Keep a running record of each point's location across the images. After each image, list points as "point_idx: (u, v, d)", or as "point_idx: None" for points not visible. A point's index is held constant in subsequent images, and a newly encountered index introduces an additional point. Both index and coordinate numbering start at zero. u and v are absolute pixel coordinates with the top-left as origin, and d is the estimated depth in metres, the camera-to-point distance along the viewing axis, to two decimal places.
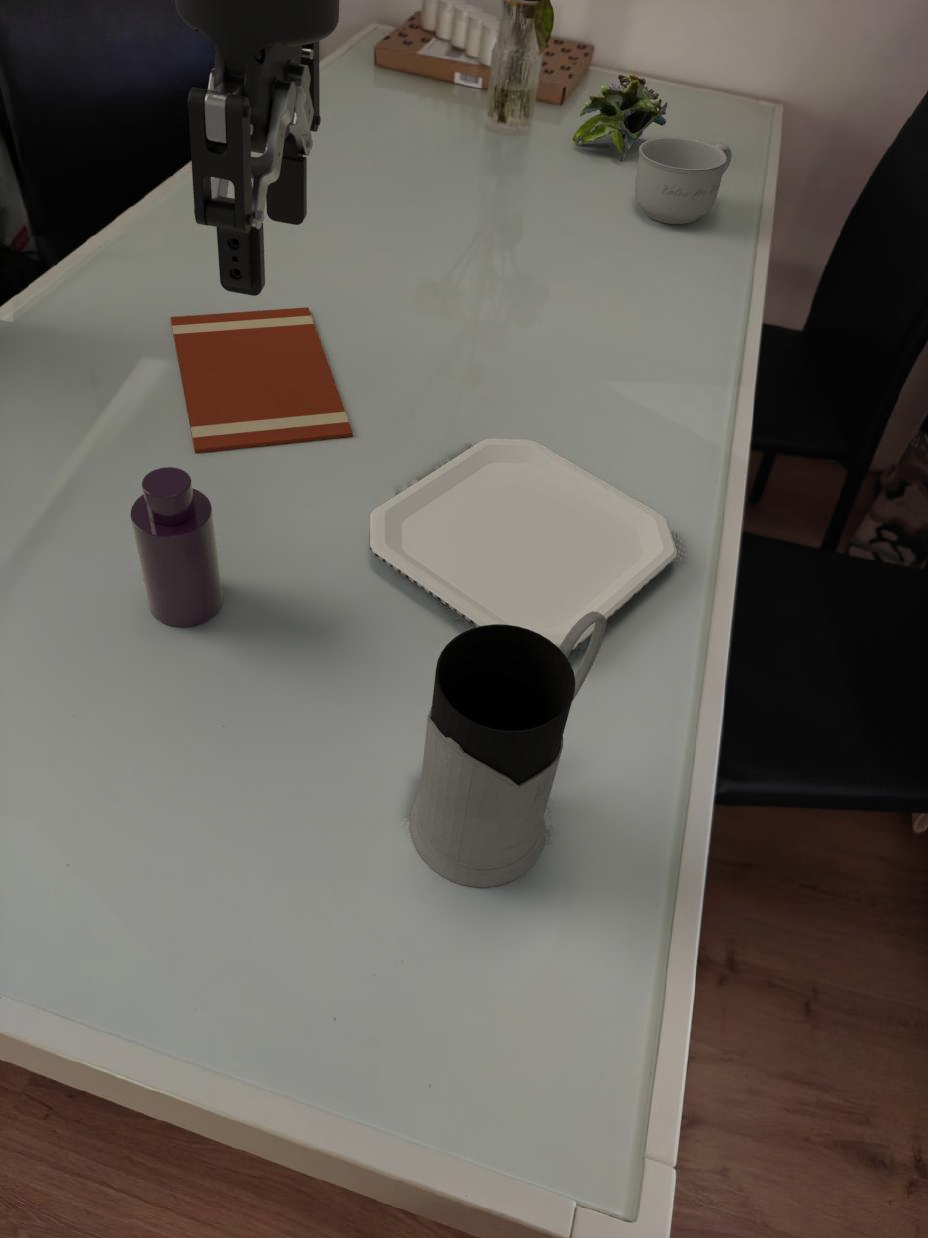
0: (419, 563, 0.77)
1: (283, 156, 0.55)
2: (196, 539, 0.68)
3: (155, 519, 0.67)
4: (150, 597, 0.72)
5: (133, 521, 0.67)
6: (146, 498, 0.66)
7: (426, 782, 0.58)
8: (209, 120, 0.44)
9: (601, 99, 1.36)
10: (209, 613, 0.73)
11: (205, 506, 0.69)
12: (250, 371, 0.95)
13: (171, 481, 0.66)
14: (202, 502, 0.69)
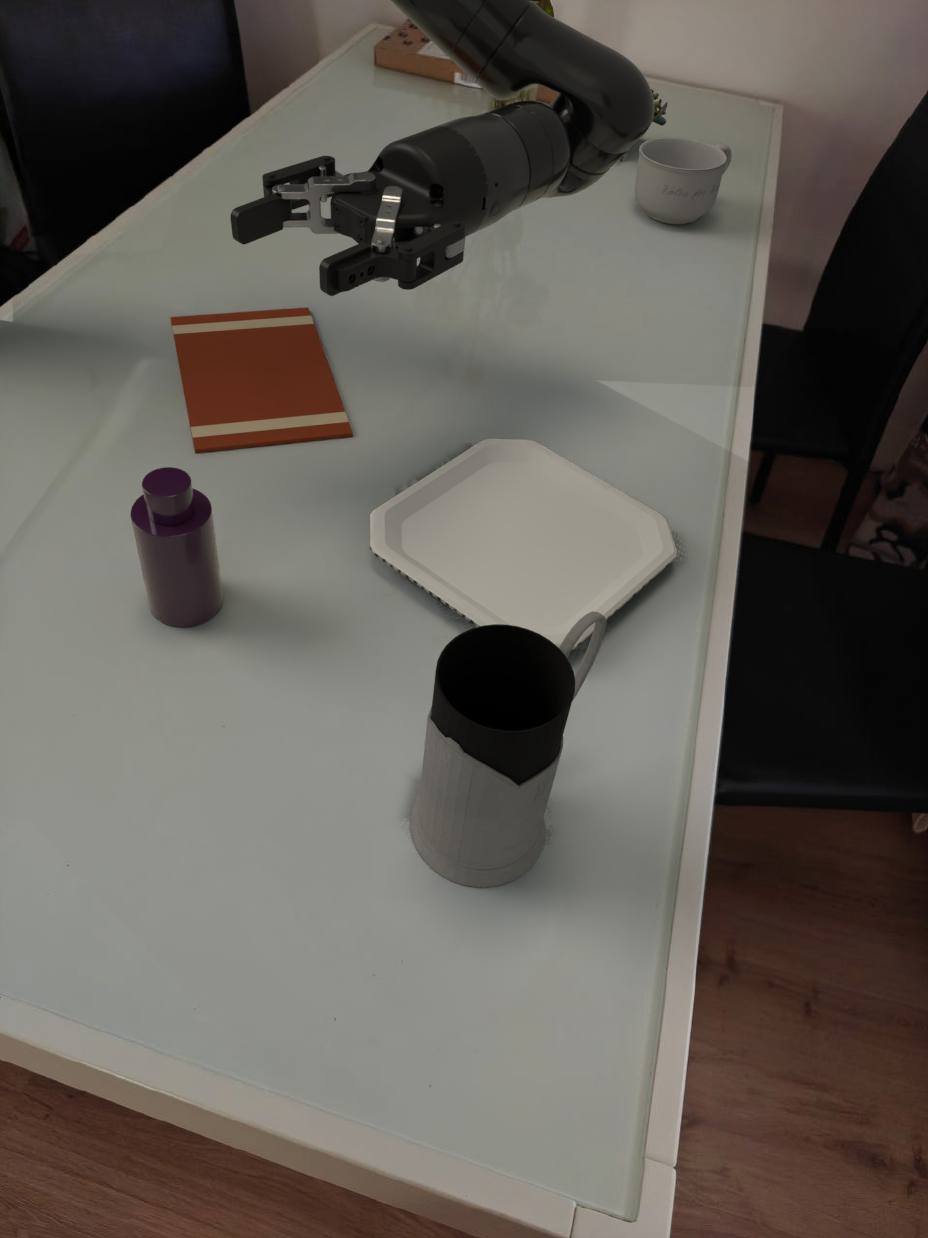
0: (419, 563, 0.77)
1: None
2: (196, 539, 0.68)
3: (155, 519, 0.67)
4: (150, 597, 0.72)
5: (133, 521, 0.67)
6: (146, 498, 0.66)
7: (426, 782, 0.58)
8: (458, 243, 0.65)
9: None
10: (209, 613, 0.73)
11: (205, 506, 0.69)
12: (250, 371, 0.95)
13: (171, 481, 0.66)
14: (202, 502, 0.69)
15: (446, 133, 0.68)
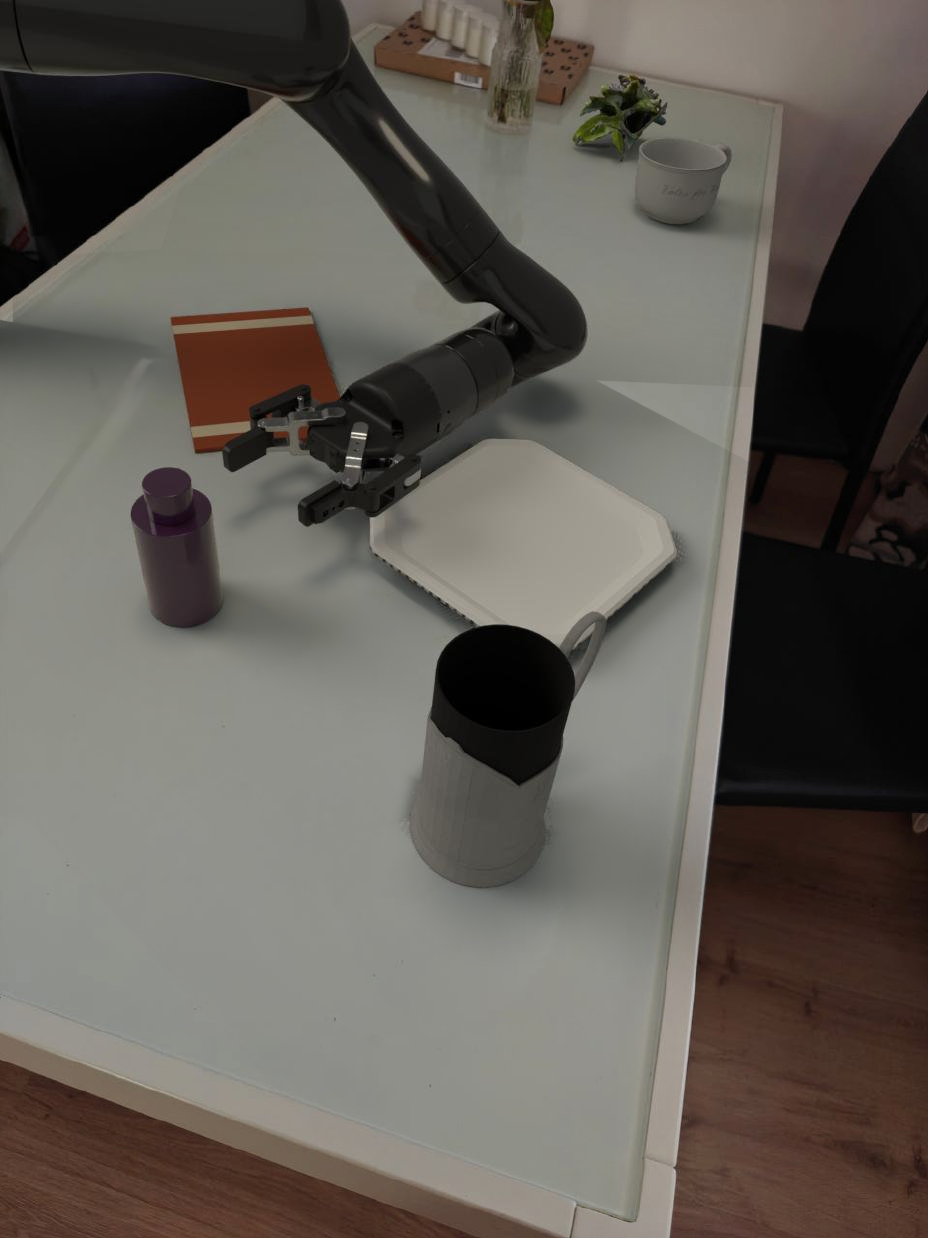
0: (419, 563, 0.77)
1: None
2: (196, 539, 0.68)
3: (155, 519, 0.67)
4: (150, 597, 0.72)
5: (133, 521, 0.67)
6: (146, 498, 0.66)
7: (426, 782, 0.58)
8: (415, 474, 0.77)
9: (601, 99, 1.36)
10: (209, 613, 0.73)
11: (205, 506, 0.69)
12: (250, 371, 0.95)
13: (171, 481, 0.66)
14: (202, 502, 0.69)
15: (405, 373, 0.80)
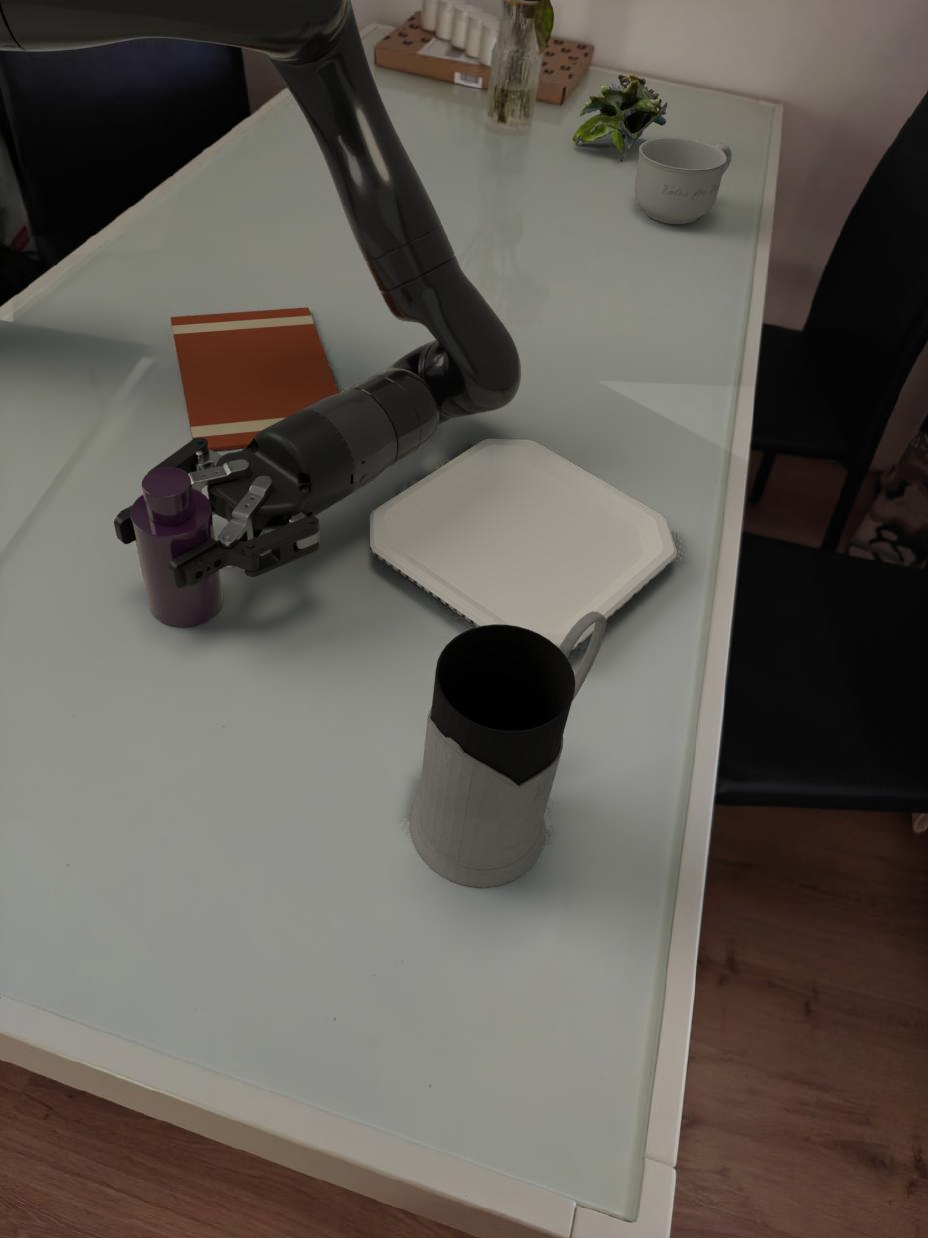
0: (419, 563, 0.77)
1: None
2: (196, 539, 0.68)
3: (155, 519, 0.67)
4: (150, 597, 0.72)
5: (133, 521, 0.67)
6: (146, 498, 0.66)
7: (426, 782, 0.58)
8: (310, 538, 0.71)
9: (601, 99, 1.36)
10: (209, 613, 0.73)
11: (205, 506, 0.69)
12: (250, 371, 0.95)
13: (171, 481, 0.66)
14: (202, 502, 0.69)
15: (314, 421, 0.74)
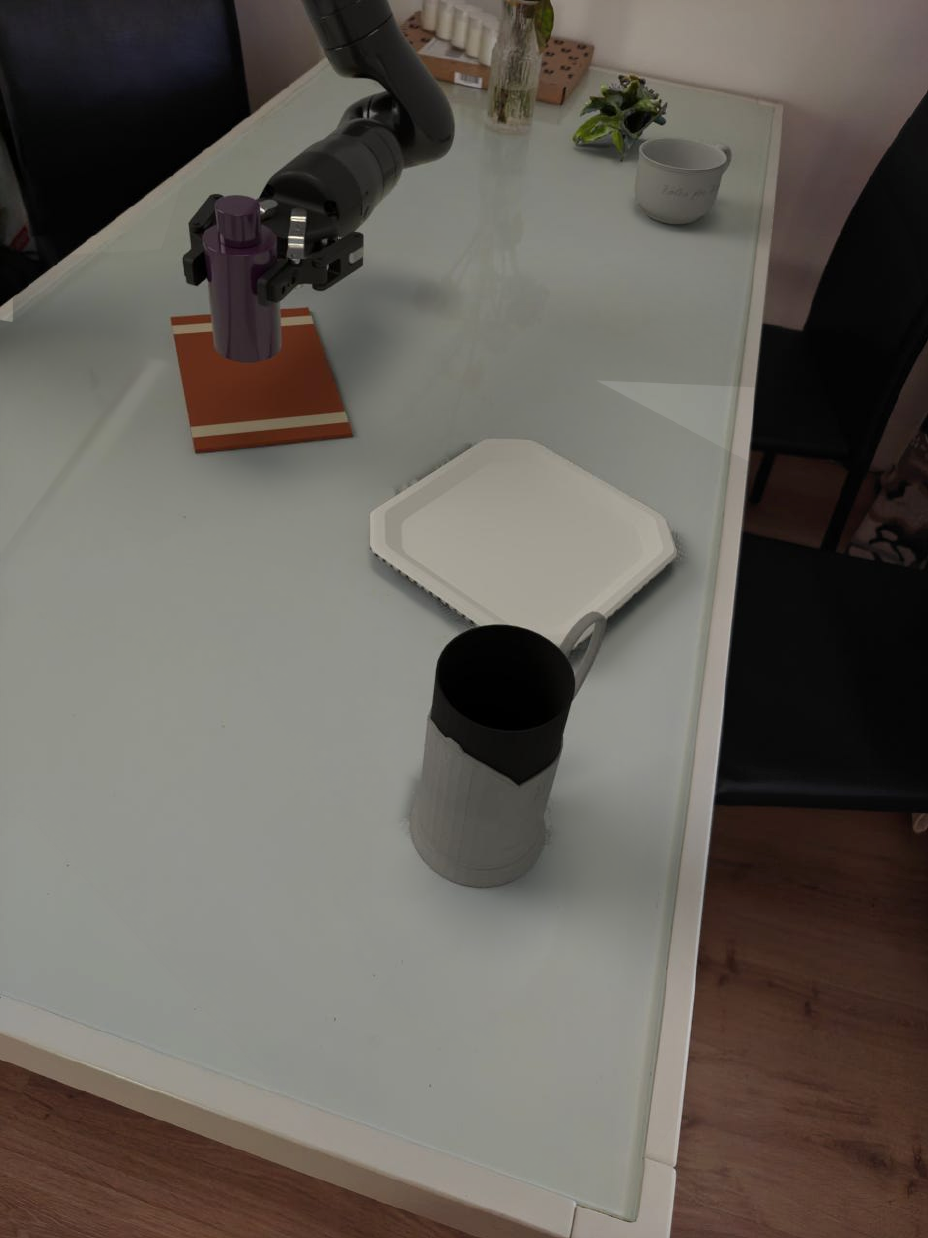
0: (419, 563, 0.77)
1: None
2: (272, 258, 0.74)
3: (233, 243, 0.72)
4: (226, 336, 0.77)
5: (213, 249, 0.72)
6: (224, 221, 0.71)
7: (426, 782, 0.58)
8: (358, 251, 0.78)
9: (601, 99, 1.36)
10: (278, 345, 0.79)
11: (267, 231, 0.75)
12: (250, 371, 0.95)
13: (241, 203, 0.72)
14: (263, 228, 0.75)
15: (320, 157, 0.81)
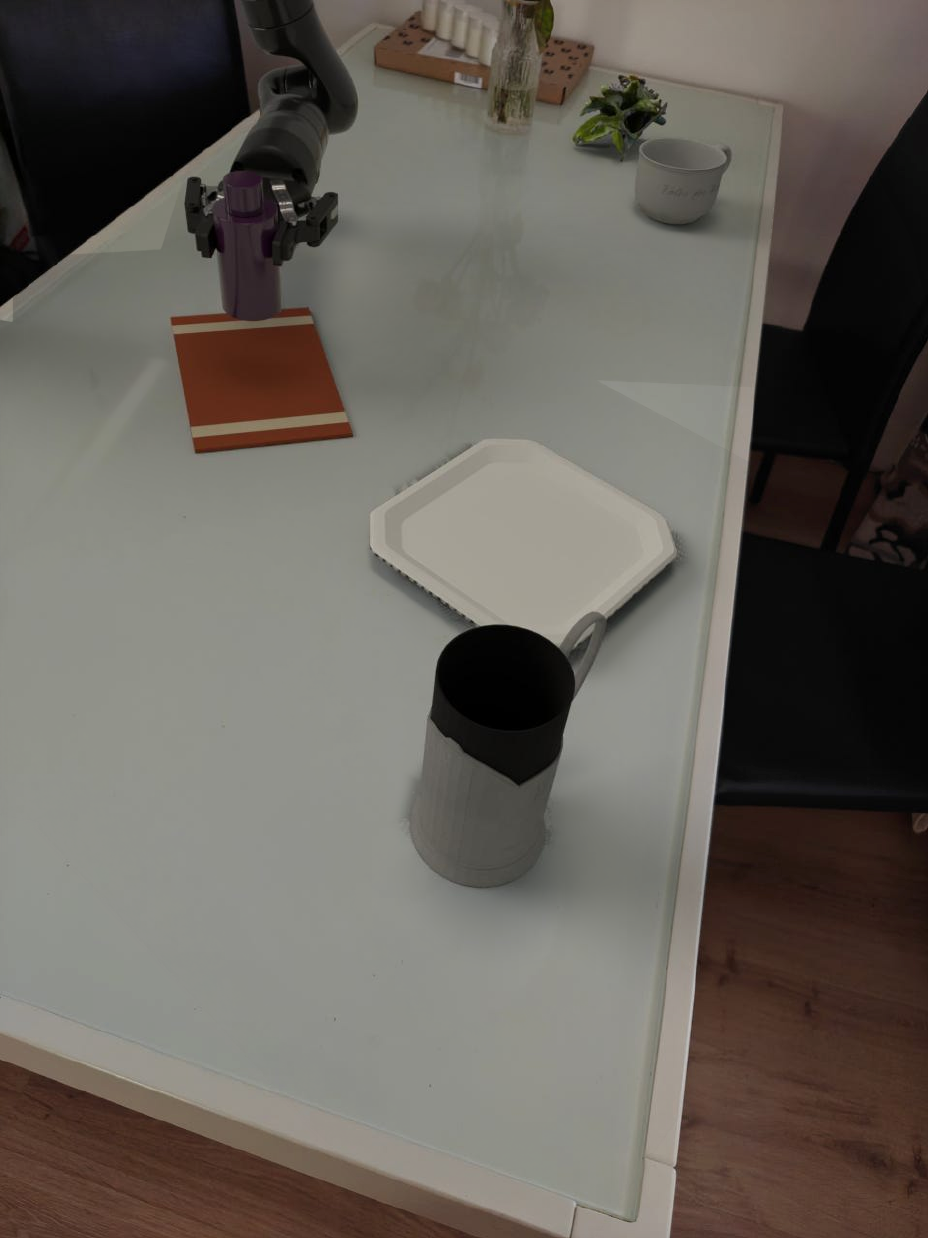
0: (419, 563, 0.77)
1: None
2: (277, 222, 0.84)
3: (245, 213, 0.82)
4: (241, 299, 0.87)
5: (228, 221, 0.82)
6: (236, 195, 0.81)
7: (426, 782, 0.58)
8: (336, 208, 0.90)
9: (601, 99, 1.36)
10: (282, 301, 0.90)
11: (264, 200, 0.85)
12: (250, 371, 0.95)
13: (245, 177, 0.82)
14: None
15: (277, 131, 0.91)
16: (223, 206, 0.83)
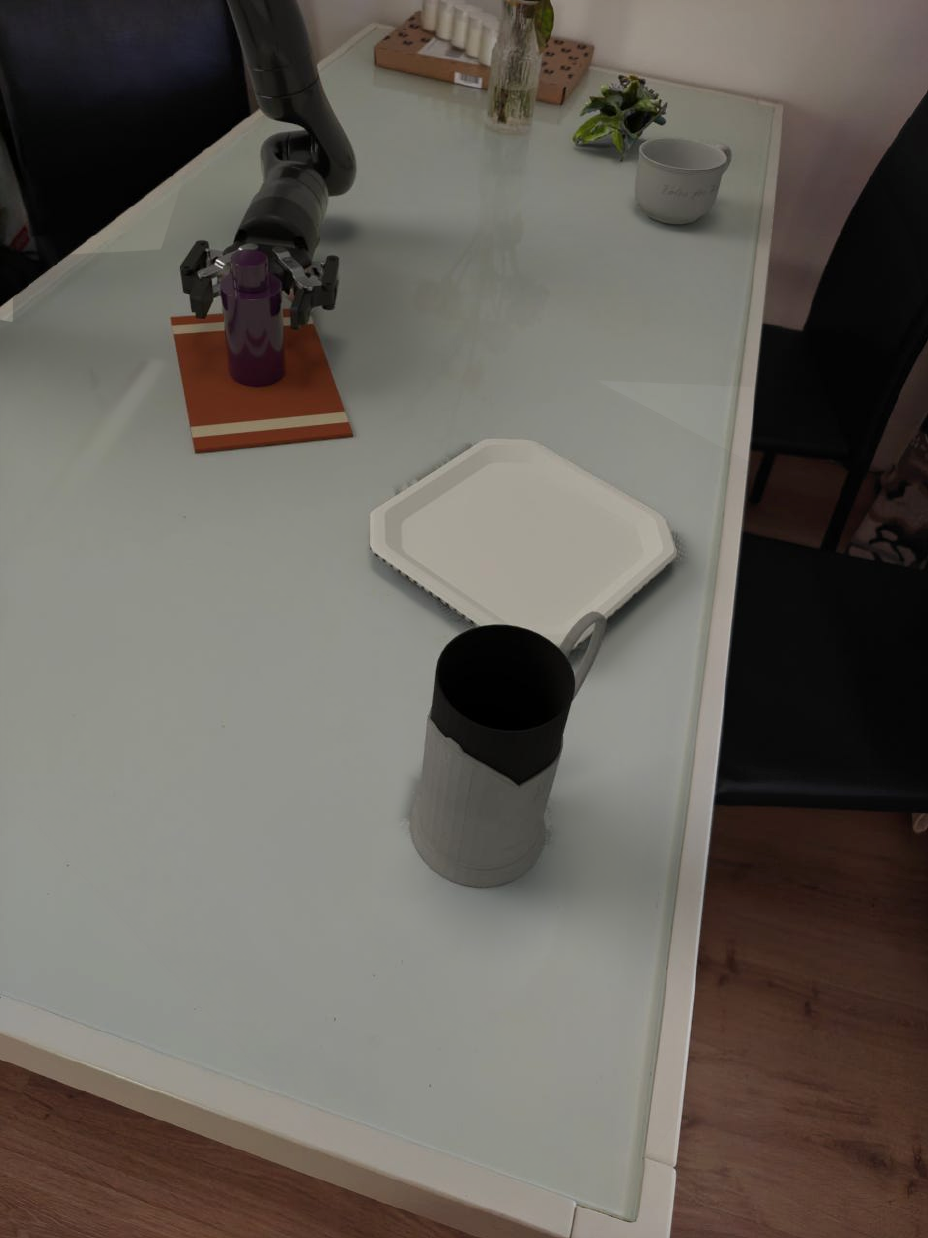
0: (419, 563, 0.77)
1: None
2: (281, 296, 0.89)
3: (251, 289, 0.87)
4: (246, 367, 0.92)
5: (236, 297, 0.87)
6: (243, 273, 0.86)
7: (426, 782, 0.58)
8: (338, 270, 0.95)
9: (601, 99, 1.36)
10: (285, 367, 0.95)
11: (269, 275, 0.90)
12: None
13: (251, 256, 0.87)
14: None
15: (279, 201, 0.96)
16: (230, 282, 0.88)
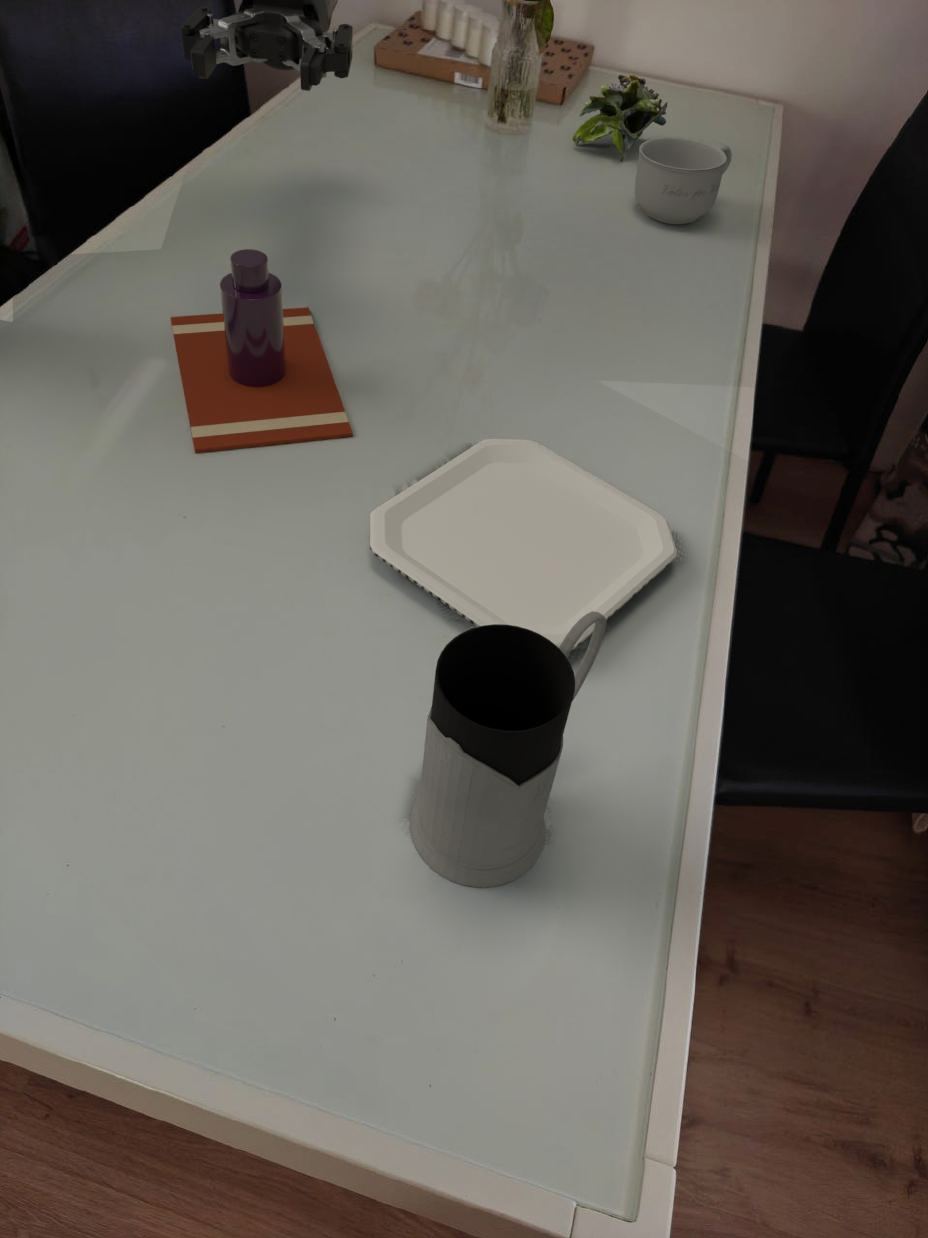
0: (419, 563, 0.77)
1: None
2: (281, 296, 0.89)
3: (251, 289, 0.87)
4: (246, 367, 0.92)
5: (236, 297, 0.87)
6: (243, 273, 0.86)
7: (426, 782, 0.58)
8: (352, 40, 0.88)
9: (601, 99, 1.36)
10: (285, 367, 0.95)
11: (269, 275, 0.90)
12: None
13: (251, 256, 0.87)
14: None
15: None
16: (230, 282, 0.88)
